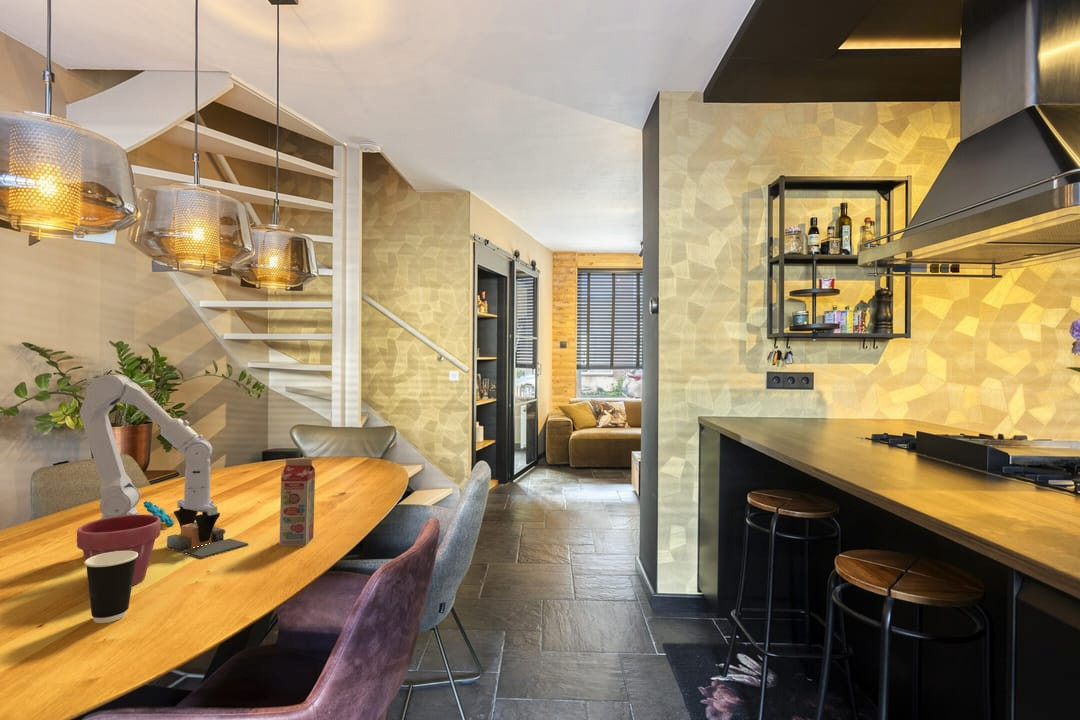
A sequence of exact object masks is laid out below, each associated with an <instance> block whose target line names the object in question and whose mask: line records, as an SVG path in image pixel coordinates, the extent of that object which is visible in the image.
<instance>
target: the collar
mask: <svg viewBox="0 0 1080 720" xmlns="http://www.w3.org/2000/svg"><path fill="white" fill-rule="evenodd" d="M180 536H184V537H187V538H189V547H190V548H189V549H191V548H193V547H197V546H201V545H205V544H209V543H212V541H211V536H210V539H209V541H205V542H200V540H199V532H198V526H197V527H192V523H191V524H187V525H183V526H181V528H180Z"/></svg>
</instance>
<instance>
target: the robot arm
mask: <svg viewBox="0 0 1080 720" xmlns="http://www.w3.org/2000/svg"><path fill="white" fill-rule="evenodd" d="M117 403H121V404H127V405H131V406H134V407H136V408H137V409H138V410H139V411H141V412H142V413H143V414H145V415H146V416H147V417H148V418H149V419H151V421H153V422H155V424H157V425H158V426H159V427H160V435H161V436H162V437H163V439H165V440H166V441H168V442H169V444H170V445H172V447H174V448H175V449H177V451H179V452H182V453H183V454H182V456H183V459H184V461H185V470H184V495H183V497H184V498H183V499H180V500H177V502H176V503H177V508H178V509H177V510H174V511H173V515H174V516H175V518H176V519H177V521H178V524H179V528H180V529H181V526H183V525H187V524H191V523H195V522H196V523H197V526H198V532H199V540H200V542H205V541H209V539H210V536H211V533H212V530H213V527H215V525H216V523H217V521H218V519H219V518H220V516H221V513H220V512H218V506H216V505H215V504H214V503H215V500H212V499H211V478H212V477H211V472H212V471H211V464H212V463H211V458H210V457H211V455H212V453H213V446H212V444H211V443H210V441H209V440H208V439H206V438H204V435H202V434H199V433H197V432H196V431H195V430H194V429H193V428H192V427H190V426H189V425H190V422H189V421H188V420H187V419H185V420H183V419H182V418H175V417H174V418H173V417H172V416H171V415H170V414H169V413H167V411H166V410H165V409H164V408H163V407H161V406H160V404H158V402H157V401H155V400H154V398H153V397H151V396H150V395H149V394H148V392H147V391H146V390H144V388H142V387H141V386H140V385H139V384H138V383H136V382H134V381H132V379H131V378H130V377H128V376H126V375H125V374H121V373H115V374H103V375H100V376H98V377H97V378H95V379H94V380H93V381H92V382H91V383H90V384H89V385H88V386H87V387H86V394H85V397H84V399H83V401H82V404H81V407H80V409H79V416H80V419H81V421H82V425H83V428H84V431H85V436H86V438H87V440H88V444H89V447H90V450H91V454H92V457H93V459H94V463H95V467H96V469H97V474H98V477H99V479H100V487H99V493H100V499H101V500H100V503H99V511H100V512H101V513H102V514H101V518H99V519H98V520H100V519H105V518H110V517H116V516H125V515H139V511H138V510H137V508H136V506H137V504H139V502H140V500H141V492H140V490H138V488H137V487H135V486H134V484H133V482H132V479H131V478H130V476H129V475H128V474H127V473H126V470H125V466H124V463H123V460H122V456H121V454H120V451H119V447H118V444H117V440H116V438H115V435H114V431H113V426H112V424H111V421H110V417H109V413H110V411H112V410H113V408H114V407H115V406H116V405H117ZM198 513H201V514H198ZM93 521H94V520H93ZM93 521H91V522H93Z"/></svg>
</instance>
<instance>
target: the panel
mask: <svg viewBox="0 0 1080 720" xmlns="http://www.w3.org/2000/svg"><path fill="white" fill-rule="evenodd" d="M247 546H249V543H248V542H245V541H240V540H237V539H234V538H226V539H224V540H221V541H218V542H211V543H210V544H207V545H203V546H199V547H195V548H192V549H191V548H189V549H188V550H184V551H183V552H182V554H185V553H187V554H186V555H188V554H190V555H189V556H191V555H193V556H192V557H194V556H196V557H195V558H198V557H199V558H198V559H201V558H202V559H205V558H204V557H206V558H209V557H212V556H211V555H213V556H215V554H216V555H220V554H223V553H227V552H229V551H233V550H236V549H240V548H243V547H247ZM226 551H227V552H226ZM219 553H220V554H219ZM208 556H209V557H208Z"/></svg>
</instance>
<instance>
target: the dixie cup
mask: <svg viewBox="0 0 1080 720" xmlns="http://www.w3.org/2000/svg"><path fill="white" fill-rule="evenodd" d="M137 557H138V553H137V552H134V551H115V552H108V553H103V554H99V555H96V556H93V557H90V558H88V559H87V560H86V561H85V560H84V565H85V566H86V573H87V574H86V576H87V585H88V594H89V602H90V603H89V604H90V613H91V616H92V617H93V618H92V619H93V622H94V623H97V624H106V623H111V622H116V621H119V620H121V619H123V618H124V617H126V615H127V611H128V609H129V607H130V600H131V593H132V589H133V585H132V582H133V576H134V569H135V563H136V558H137ZM120 618H121V619H120Z"/></svg>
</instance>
